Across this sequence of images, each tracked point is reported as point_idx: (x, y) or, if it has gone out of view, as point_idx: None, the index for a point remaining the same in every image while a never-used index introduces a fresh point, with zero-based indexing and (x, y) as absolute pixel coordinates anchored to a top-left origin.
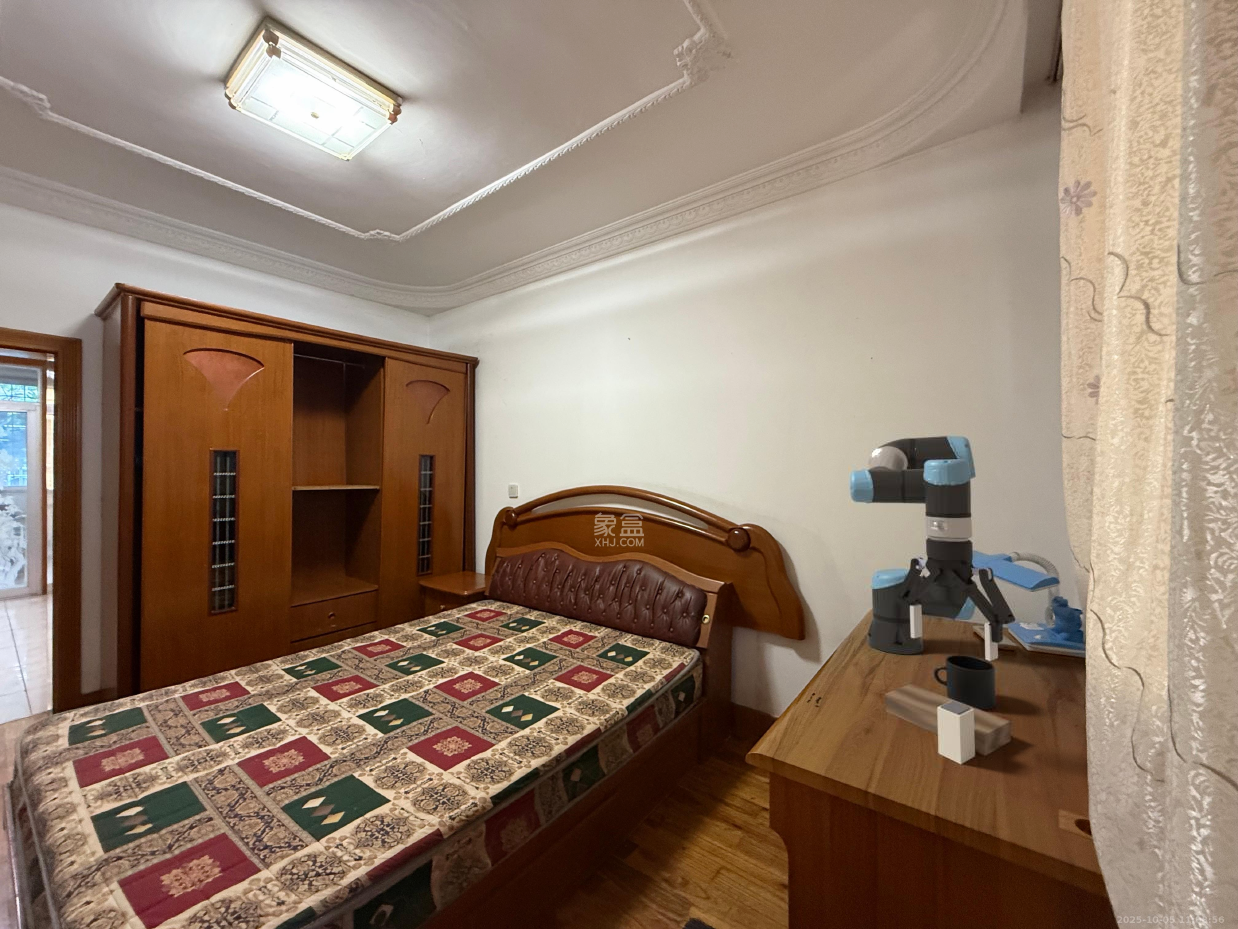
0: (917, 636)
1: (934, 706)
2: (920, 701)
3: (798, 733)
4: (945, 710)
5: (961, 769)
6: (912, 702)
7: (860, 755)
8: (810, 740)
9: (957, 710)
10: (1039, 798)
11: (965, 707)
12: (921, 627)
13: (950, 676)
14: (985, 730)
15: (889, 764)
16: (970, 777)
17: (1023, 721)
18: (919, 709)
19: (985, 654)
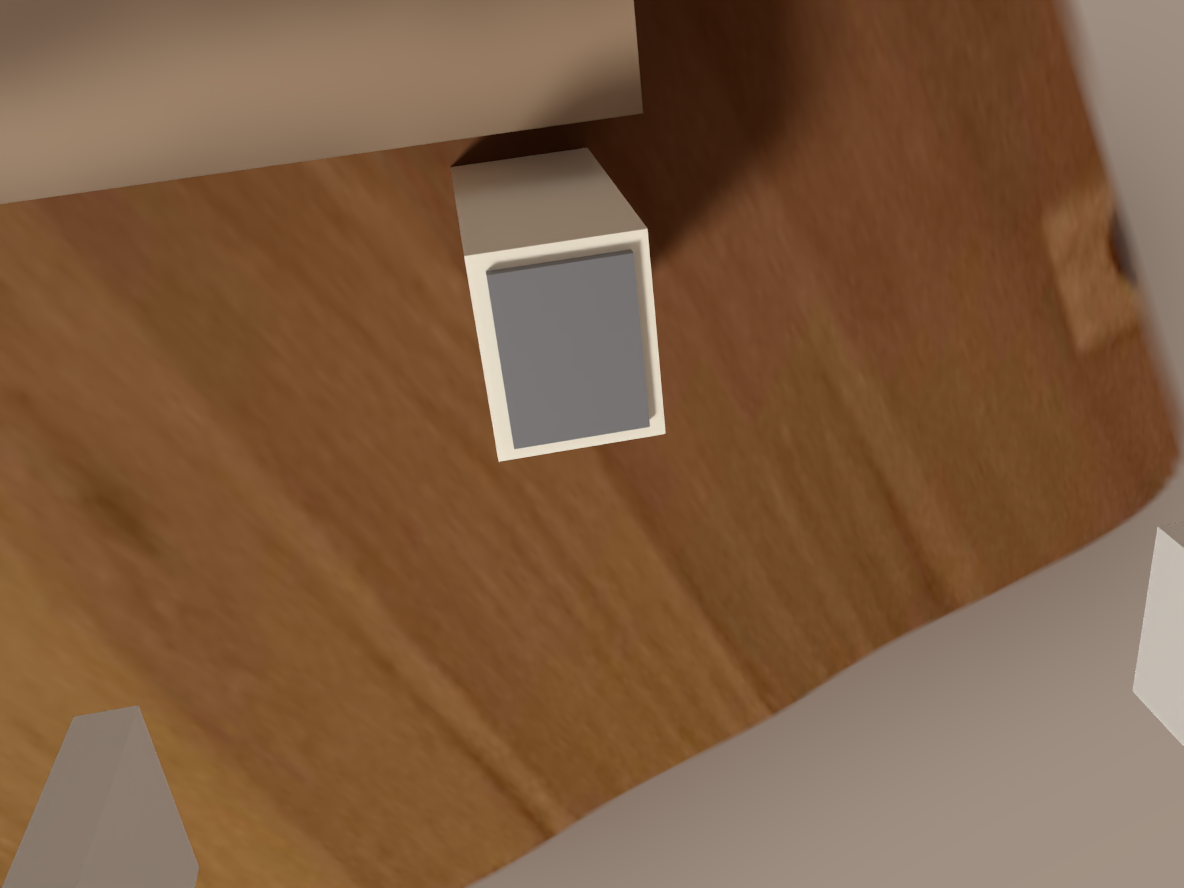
0: (175, 822)
1: (153, 24)
2: (33, 55)
3: None
4: (558, 446)
5: None
6: (35, 146)
7: (334, 710)
8: None
9: (618, 391)
10: (961, 220)
11: (615, 288)
12: (106, 832)
13: None
14: (606, 30)
15: (451, 641)
16: (701, 373)
17: None
18: (147, 180)
19: (1174, 734)
